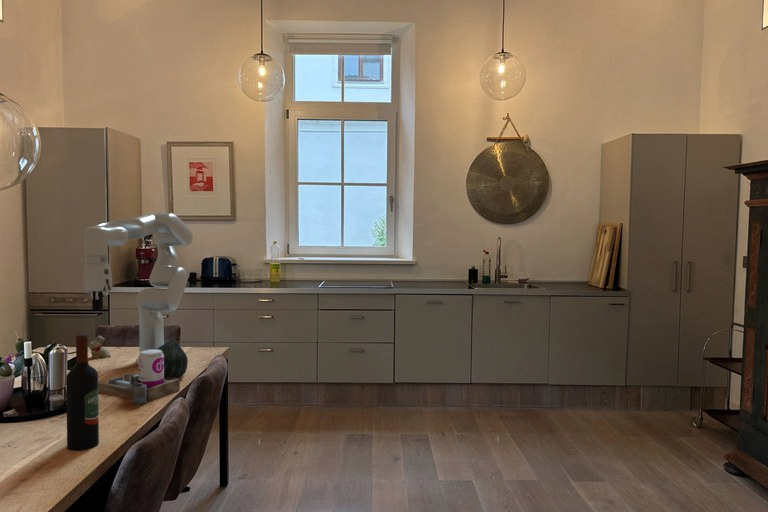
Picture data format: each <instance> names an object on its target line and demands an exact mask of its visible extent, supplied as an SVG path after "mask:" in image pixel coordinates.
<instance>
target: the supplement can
mask: <svg viewBox="0 0 768 512" xmlns="http://www.w3.org/2000/svg"><path fill="white" fill-rule="evenodd" d="M137 359H138V364H137V365H138V366H137V367H138V370H137V371H138V373H137V375H138V383H142V384H146V385H147V388H150V387H153V386H156V385H159V384H162V383H164V380H165V378H164V354H163V352H162V350H159V349H148V350H143V351H141V352H140V351H139V354H138V357H137Z"/></svg>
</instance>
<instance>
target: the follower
mask: <svg viewBox="0 0 768 512" xmlns="http://www.w3.org/2000/svg"><path fill="white" fill-rule="evenodd" d="M107 381H108V384H113V385H118V386H123V387H129V388H133V386H134V385H131V377H129V382H128V381H124V376H121V375H120V376H115V377H113V378H109V379H108V380H107ZM134 382H137V383H138V374H136V375H135V376H134Z"/></svg>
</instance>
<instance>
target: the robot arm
mask: <svg viewBox="0 0 768 512" xmlns="http://www.w3.org/2000/svg"><path fill="white" fill-rule="evenodd" d="M153 234H154V235H153ZM150 235H153V237H154V239H153V240H154V242H155V246H156V247H157V253H158V254H157V258H156V260H155V263H154V265H153V268H152V269H151V273H150V275H149V277H148V278H149V284H150V285H151V286H153V287H146V288H143V289H141V290H140V291H139V292H138V293H137V296H136V304H137V305H136V306H137V308H138V315H139V317H138V318H139V353H140V352H141V351H143V350H148V349H157V348H159V347H160V346H162V345H164V344H165V338H164V337H165V335H164V334H165V331H164V327H165V324H164V323H165V321H164V320H165V319H164V317H163V314H162V312H165V313H170V312H174V311H176V310H177V309H178V307H179V305H180V303H181V301H182V298H183V295H184V293H185V289H186V287H187V285H188V280H189V279H188V272H187V270H186V269H185V268H183V267H179V266H177V264H178V263H179V262H178V260H179V257H178V254H177V252H176V250H175V248H174V247H188V246H189V245H190V244H192V243H193V237H194V235H193V232H192V230H191V229H190V227H189V226H188V225H186V223H185V222H184V221H182V220H181V218H180V217H178V216H177V215H176V214H174V213H171V212H151V213H147V214H143V215H139V216H136V217H131V218H124V219H119V220H114V221H108V222H102V223H100V224H96V225H94V226H87V227H86V228H85V229H84V261H85V262H84V266H83V267H84V268H83V278H82V279H83V281H82V282H83V283H82V285H83V289H84V290H85V293H86V294H88V295H89V296H90V299H91V305H92V309H91V310H92V311H102V310H103V309H104V299H105V296H108V295H109V294H110V291H112V290H113V275H112V268H111V266H110V263H109V246H111V247H114V246H115V247H121V246H123V245H125V244H126V243H127V242H128V240H137V239H138V240H139V239H142V238H144V237H147V236H150ZM135 363H136V364H137V365H138V358H136V359H135Z"/></svg>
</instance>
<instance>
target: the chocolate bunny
mask: <svg viewBox="0 0 768 512" xmlns="http://www.w3.org/2000/svg"><path fill="white" fill-rule="evenodd" d="M104 342H105V338H104V337H103V336H101V335H98V336H97V337H96V338H95V339H94V340H93V341H90V343H88V349H90V350H91V351H90V354H91V358H92V359H96V358H100V359H107V358H106V357H109V358H111V357H112V355H111V352H109V349H107V348H105V347H103V343H104Z"/></svg>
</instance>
